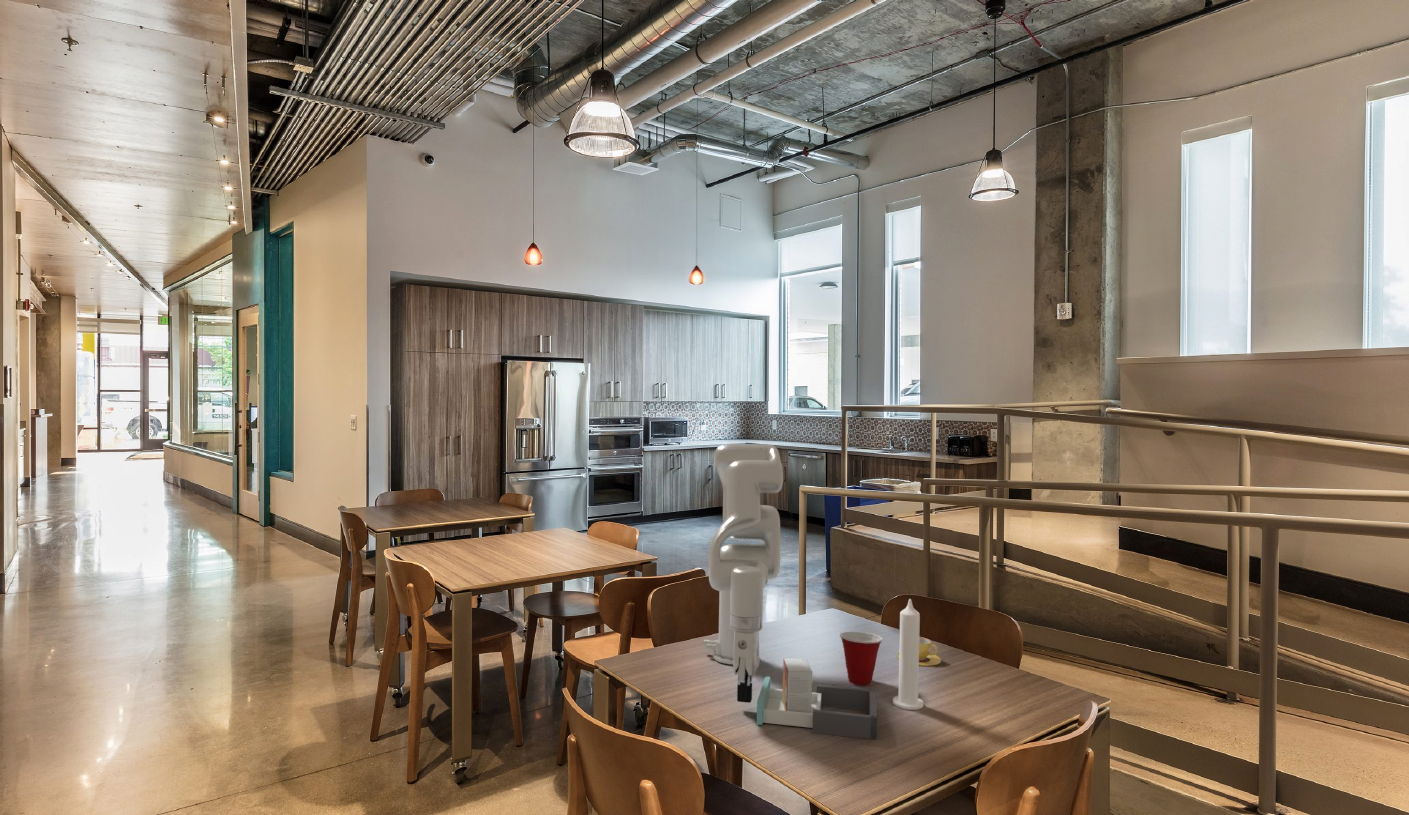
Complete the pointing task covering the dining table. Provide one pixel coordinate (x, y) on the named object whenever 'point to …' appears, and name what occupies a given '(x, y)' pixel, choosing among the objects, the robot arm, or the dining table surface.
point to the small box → (797, 685)
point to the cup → (927, 653)
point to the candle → (909, 660)
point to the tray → (782, 708)
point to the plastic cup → (860, 655)
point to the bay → (846, 721)
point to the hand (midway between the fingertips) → (744, 700)
